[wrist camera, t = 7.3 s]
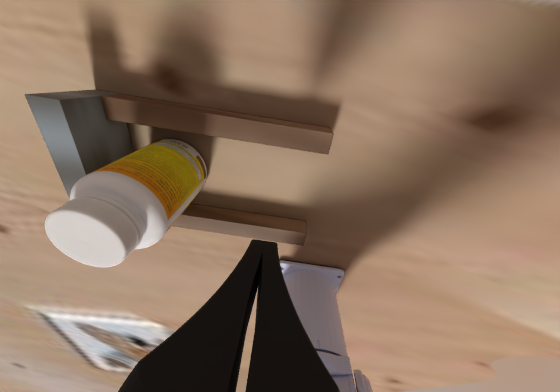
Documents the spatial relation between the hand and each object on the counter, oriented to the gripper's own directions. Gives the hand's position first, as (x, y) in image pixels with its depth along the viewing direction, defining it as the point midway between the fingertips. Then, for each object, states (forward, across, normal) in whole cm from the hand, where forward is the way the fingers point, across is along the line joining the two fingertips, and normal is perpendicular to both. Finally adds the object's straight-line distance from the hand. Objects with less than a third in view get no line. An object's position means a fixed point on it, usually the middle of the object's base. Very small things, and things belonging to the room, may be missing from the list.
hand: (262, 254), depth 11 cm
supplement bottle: (+10, +9, 0) cm, 13 cm away
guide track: (+9, +5, 0) cm, 11 cm away
